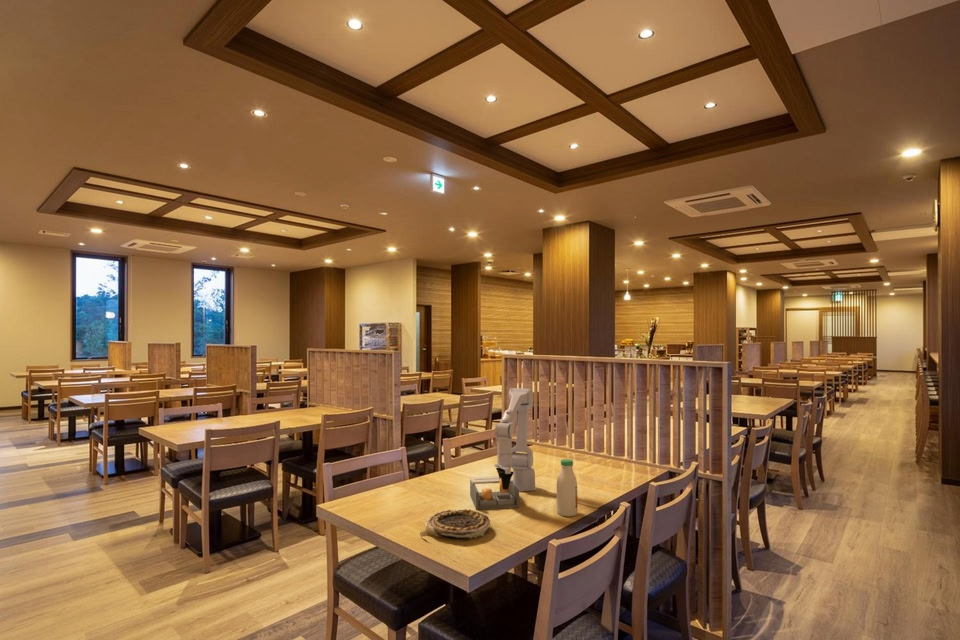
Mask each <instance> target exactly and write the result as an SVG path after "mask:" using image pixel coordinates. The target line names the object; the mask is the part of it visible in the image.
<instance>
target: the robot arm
mask: <svg viewBox="0 0 960 640" xmlns="http://www.w3.org/2000/svg"><path fill="white" fill-rule="evenodd" d="M508 399H509V406H508V409H506V410H505V411H504V412H503V414H502V416H501V419H500V422H498V423H496V424H495V428H494V430H495V431H494V435H495V438H496V439H495V441H496V442H497V448H496V449H497V450H496V451H497V455H496V456H497V460H496V461H497V463H494V468H495V469H496V472H497V474H498V476H499V480H500V478H501V480H502V487H503V490H505V489H509V484H510V480H511V479H512V480H513V483H514V484H515V486H516V487H517V488H518V490H519V492H527V491H529V492H531V491H536V471H535V469H534V468H533V466H534V451H533V450H532V448H530V447H529V446H528V433H529V432H528V431H529V430H528V428H529V412H530V411H529V410H530V409H532V407H533V405H534V392H533V389H532V388H521V387H520V388H517V387H510V389H509V391H508ZM516 421H517V422H516ZM515 424H517V425H516V442H515V445H514V446H513V445H512V440H513V438H514V437H513V436H514V433H515ZM512 446H513V447H512ZM511 469H512V470H511Z"/></svg>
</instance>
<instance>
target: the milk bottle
mask: <svg viewBox="0 0 960 640" xmlns="http://www.w3.org/2000/svg"><path fill="white" fill-rule="evenodd" d="M573 461H574V460H572V459H569V458H562V459H561V460H560V467H561V468H560V472H559V474H558V476H557V480H556V513H557V515H559V516H561V517H575V516H577V515H578V481H577V477H576V475H575V472H574V469H573V467H574V462H573Z"/></svg>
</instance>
